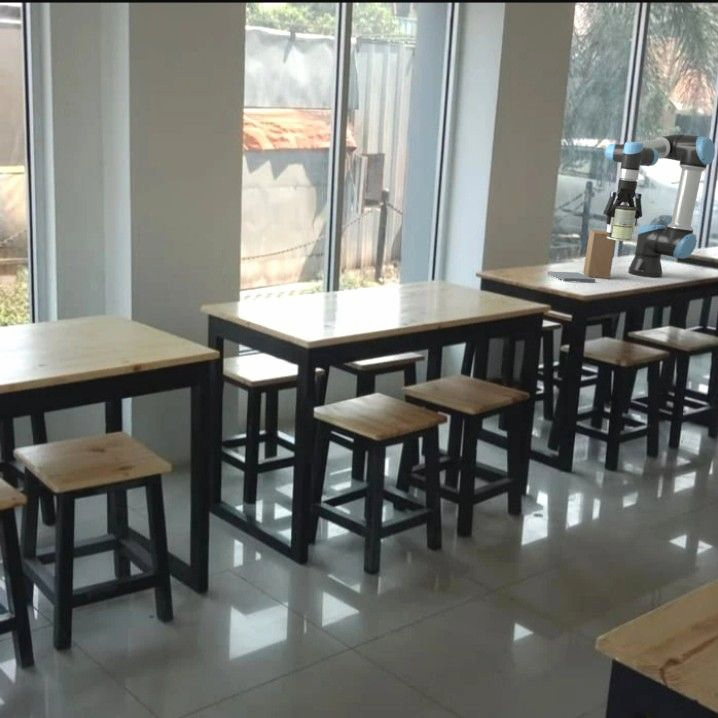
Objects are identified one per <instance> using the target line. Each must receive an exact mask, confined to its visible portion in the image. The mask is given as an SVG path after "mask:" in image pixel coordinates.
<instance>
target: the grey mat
mask: <svg viewBox="0 0 718 718" xmlns="http://www.w3.org/2000/svg"><path fill="white" fill-rule="evenodd" d="M547 274H548V275H547ZM547 274H546V275H547V276H549V275H551V276H550V277H552V276H553V277H552V278H554V277H556V278H555V279H557V278H558V279H557V280H559V279H561V280H560V281H562V280H563V281H562V282H564V281H579V282H578V283H592V284H593V283H596V278H591V277H588V276H586V275H585V274H584V273H580V272H574V271H573V272H572V271H547Z"/></svg>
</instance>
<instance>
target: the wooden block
mask: <svg viewBox="0 0 718 718" xmlns="http://www.w3.org/2000/svg"><path fill="white" fill-rule="evenodd" d="M607 234H608V232H607V230H598V229H589V232H588V238H587V246H586V253H585V260H584V265H583V273H582V274H583V275H586V276H588V277H592V278H593V279H601V280H602V279H603V280H609V279H610V278H611V271H612V265H613V258H614V251H615V247H616V246H615V245H616V242H617V240H611V239H608V238H607Z"/></svg>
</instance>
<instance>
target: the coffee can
mask: <svg viewBox="0 0 718 718" xmlns="http://www.w3.org/2000/svg"><path fill="white" fill-rule="evenodd" d="M612 207H614V208H615V213H614V214H613V216H612V217H614V220H613V226H612V233H609V232H608V234H607V238H608V239H611V240H616V241H620V242H632V239H633V238H632V237H633V234H632V232H633V226H634V219H635V213H636V209H637V207H636V206H635V207H630V206H629V204H627V205H626V204H620V205H619V206H614V203H613V205H612Z"/></svg>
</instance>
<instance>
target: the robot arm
mask: <svg viewBox="0 0 718 718" xmlns="http://www.w3.org/2000/svg"><path fill="white" fill-rule="evenodd" d="M715 147H716V146H715V144H714V141H713V140H712V138H710V137H706V136H702V135H701V136H700V135H689V134H681V133H680V134H678V133H677V134H671V135H670V134H669V135H664V136H658V137H656V138H654V139H653V140H644V141H639V142H637V141H625V143H622V144H620V143H619V144H618V143H610V144H608V145H607V147H605V154H604V155H605V156H604V157H605V159H606V160H607V161H609V162H613V163H621V165H620V166H621V167H620V173H619V180H618V183H617V191H610V192H609V193H610V194H609V198H608V200H607V204H606V205H605V208H604V210H603V212H602V213H603V215H606V217H607V218H606V224H607V226H606V231H607V232H609V233H612V226H613V220H614V217H612V216H613V214H614V213H615V208H614V207H612V205H613V204H614V206H619V205H622V203H627V205H628V206H630V207H637V209H636V213H635V219H634V226H633V232H632V235H634V234H635V227H636V226H637V223H638V219H640V218H642V217H643V209H642V196H643V195H642V193H639V192H637V193H636V190H637V187H638V182H637V180H638V179H639V174H640V167H641V166H643V167H650V166H655V165H656V164H657V162H658V161H659V160H661V159H665V160H666V159H667V160H671V161H672V160H673V161H677V162H679V165H678V166H679V167H680V169H681V173H680V178H679V183H678V187H677V193H676V198H675V203H674V207H673V213H672V217H671V218H672V219H671V222H670V223H669V224H667V226H666V225H662V224H661V225H659V224H657V225H656V224H655V225H654V224H645V225H644V224H643V225H641V226H640V227H639V230H638V233H637V239H636V244H635V245H636V246H635V253H634V257H633V259H632V261H631V262H630V265H629V267H628V273H629V274H631V273H632V274H631V275H635V274H636V275H635V276H640V275H641V276H640V277H646V276H649V277H650V278H659V277H658V276H661V277H662V275H663V269H662V268H663V267H662V263H661V257H662V255H663V256H667V257H671V258H674V259H687V258H689V257H690V256H691V255H692V254H693V253H694V250H696V249H695V248H696V246H697V241H698V240H697V236H696V234H694V228H693V227H692V223H693V222H692V221H693V218H694V212H695V209H696V202H697V198H698V197H697V196H698V194H699V193H698V192H699V188H700V183H701V179H702V173H703V172H704V171H705V170H706V169H707V167H708V165H711V164H712V163H713V161H714V158H715V154H716V149H715Z"/></svg>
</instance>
